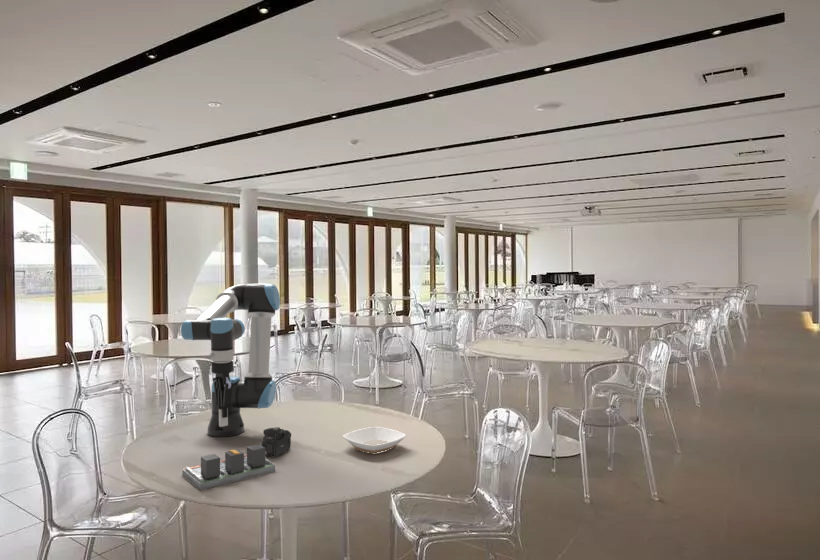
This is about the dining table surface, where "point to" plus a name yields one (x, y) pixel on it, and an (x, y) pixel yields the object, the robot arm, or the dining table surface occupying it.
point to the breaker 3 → (255, 455)
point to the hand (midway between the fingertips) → (223, 425)
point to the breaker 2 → (234, 461)
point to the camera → (276, 441)
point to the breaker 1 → (210, 466)
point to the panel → (225, 474)
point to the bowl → (372, 433)
